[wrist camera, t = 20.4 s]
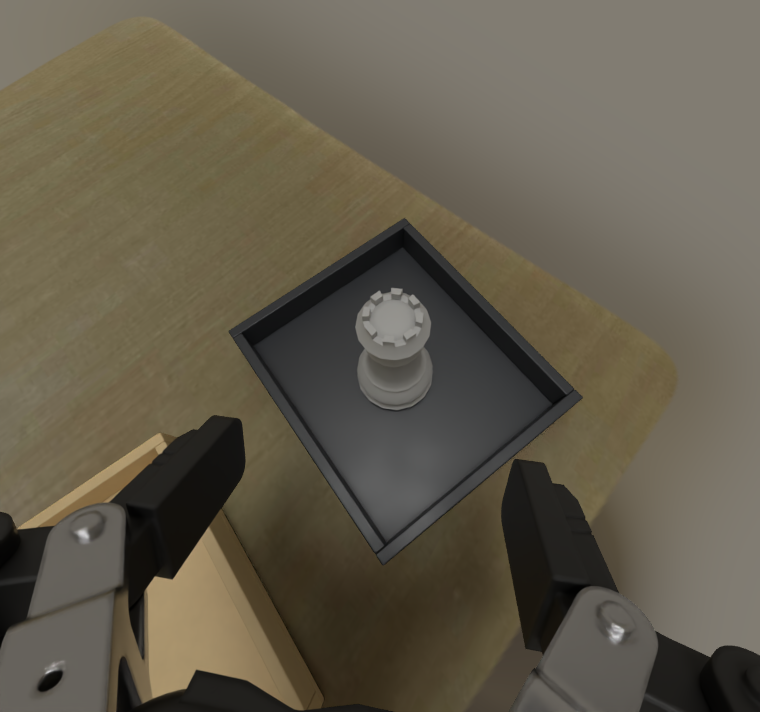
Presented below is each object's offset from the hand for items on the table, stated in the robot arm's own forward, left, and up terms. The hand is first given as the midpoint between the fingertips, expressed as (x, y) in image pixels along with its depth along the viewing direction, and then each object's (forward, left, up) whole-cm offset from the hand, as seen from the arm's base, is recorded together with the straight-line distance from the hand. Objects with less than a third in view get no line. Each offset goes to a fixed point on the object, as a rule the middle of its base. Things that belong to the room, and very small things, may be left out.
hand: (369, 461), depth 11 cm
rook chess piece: (+4, -4, -11) cm, 12 cm away
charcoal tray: (+4, -4, -11) cm, 13 cm away
